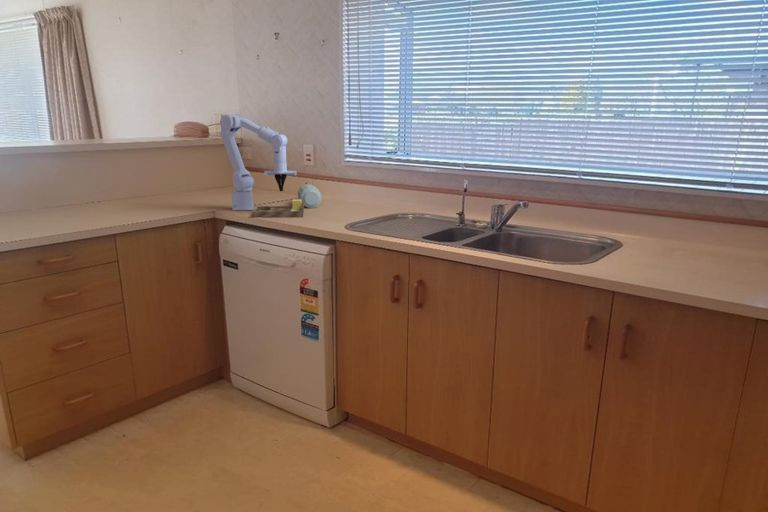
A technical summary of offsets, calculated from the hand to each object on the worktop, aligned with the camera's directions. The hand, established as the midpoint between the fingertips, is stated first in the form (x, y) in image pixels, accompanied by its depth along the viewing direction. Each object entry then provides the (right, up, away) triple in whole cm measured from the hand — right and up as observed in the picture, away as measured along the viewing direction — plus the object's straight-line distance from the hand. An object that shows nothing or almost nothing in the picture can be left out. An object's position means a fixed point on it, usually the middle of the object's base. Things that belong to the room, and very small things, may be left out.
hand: (281, 190), depth 251 cm
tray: (0, -11, -3) cm, 12 cm away
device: (+8, -3, +26) cm, 27 cm away
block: (+7, -8, 0) cm, 11 cm away
